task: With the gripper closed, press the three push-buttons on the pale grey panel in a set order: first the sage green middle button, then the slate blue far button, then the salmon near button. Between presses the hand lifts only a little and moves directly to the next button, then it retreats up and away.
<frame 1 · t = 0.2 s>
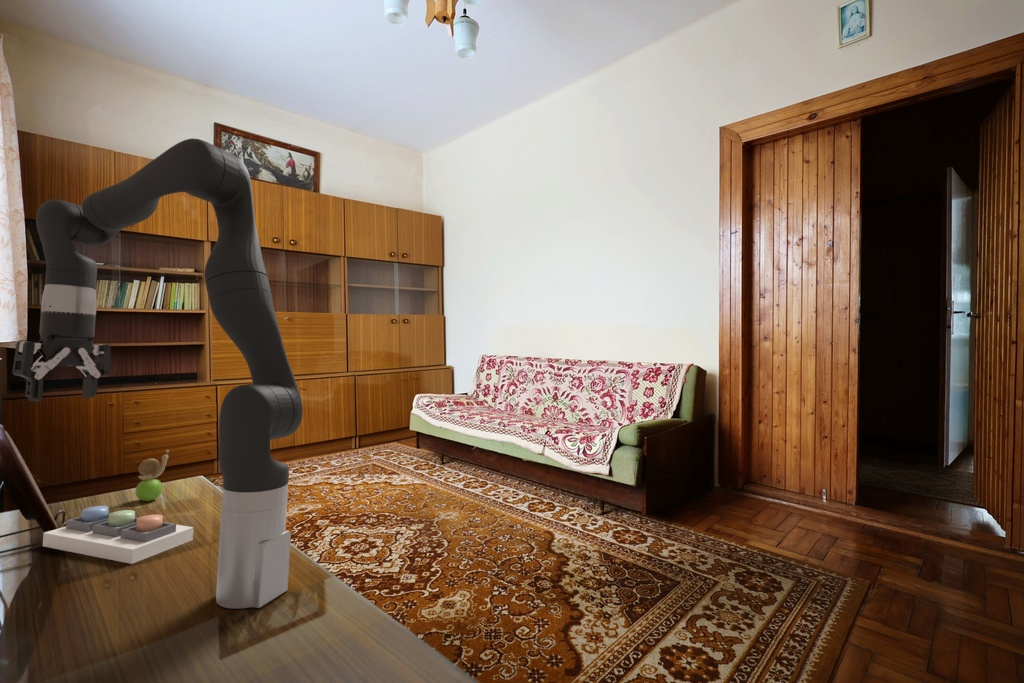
hand: (62, 399, 89), 28 cm above the table, fingers open, 8 cm apart
sage button: (121, 518, 94), point 5 cm above the table, slide at 0.0 cm
salmon button: (149, 523, 92), point 5 cm above the table, slide at 0.0 cm
slate button: (94, 514, 96), point 5 cm above the table, slide at 0.0 cm
button panel: (120, 543, 94), on the table
snail figurine: (150, 501, 120), on the table
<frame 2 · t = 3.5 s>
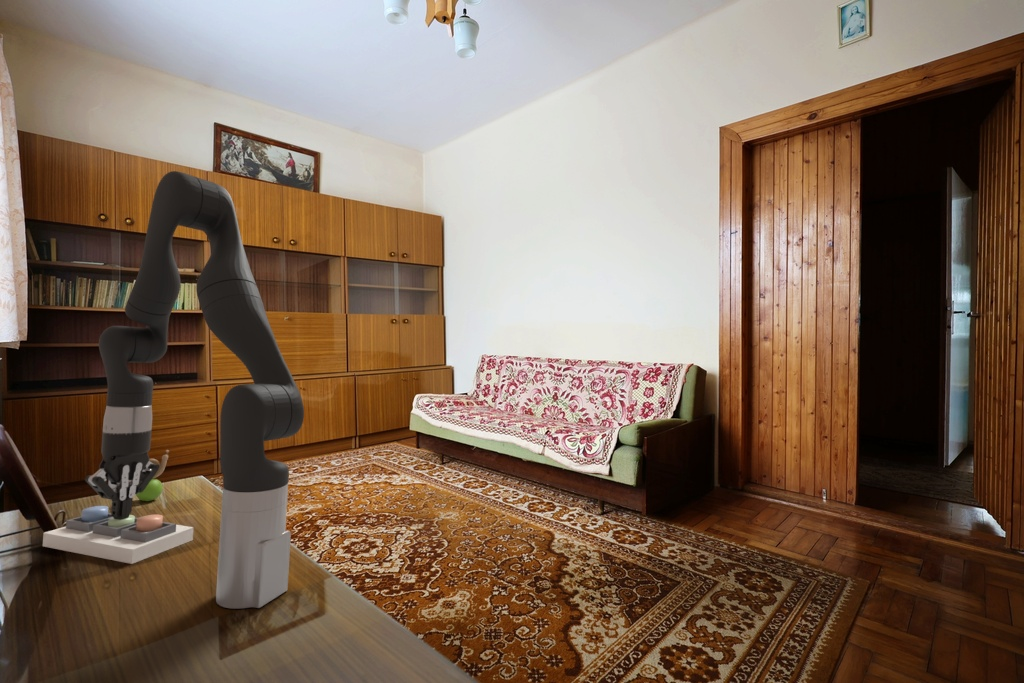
hand: (121, 518, 94), 5 cm above the table, fingers closed
sage button: (121, 523, 94), point 4 cm above the table, slide at 0.9 cm, touching gripper
everything else where it was.
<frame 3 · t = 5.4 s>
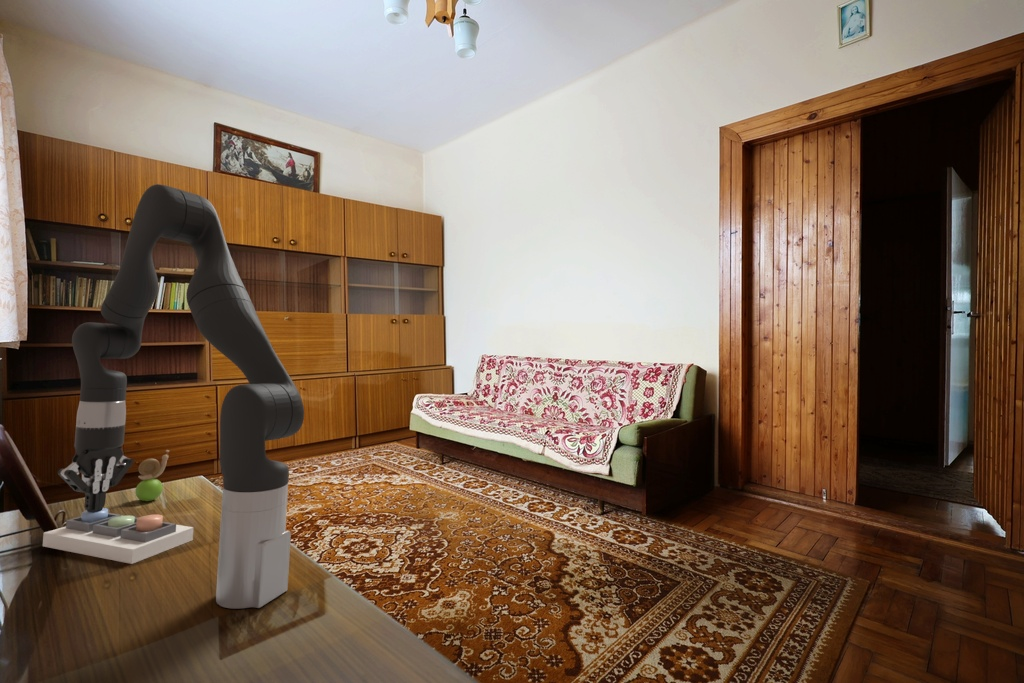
hand: (94, 511, 96), 5 cm above the table, fingers closed
sage button: (121, 524, 94), point 4 cm above the table, slide at 1.1 cm
slate button: (94, 516, 96), point 4 cm above the table, slide at 0.5 cm, touching gripper
everything else where it was.
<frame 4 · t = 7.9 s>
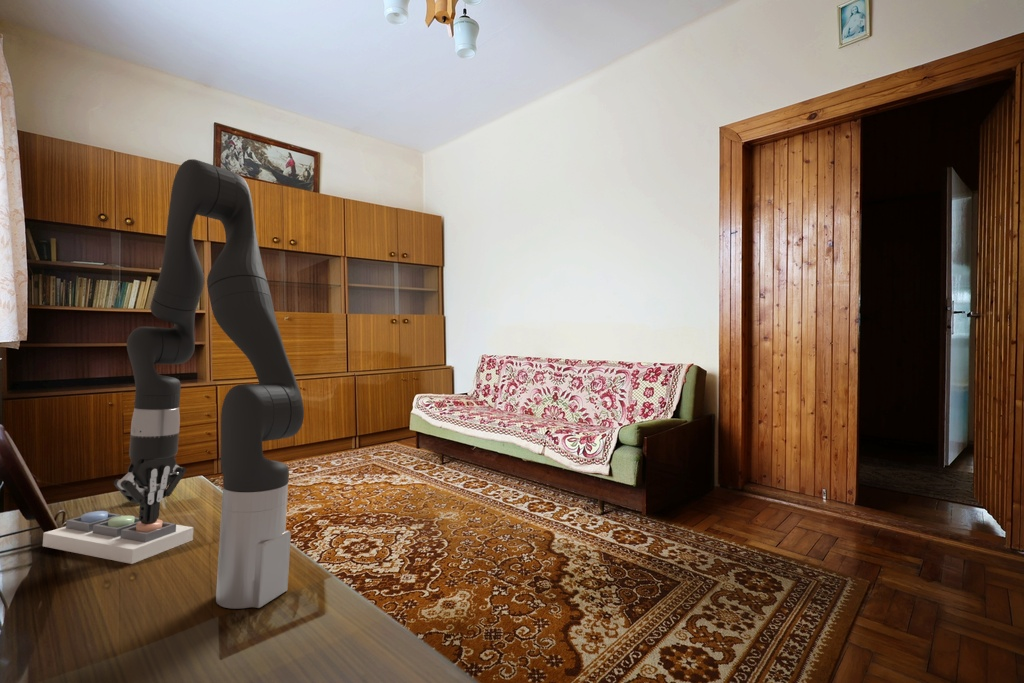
hand: (148, 522, 93), 5 cm above the table, fingers closed
salmon button: (149, 528, 92), point 4 cm above the table, slide at 0.9 cm, touching gripper
slate button: (94, 519, 96), point 4 cm above the table, slide at 1.0 cm
everything else where it was.
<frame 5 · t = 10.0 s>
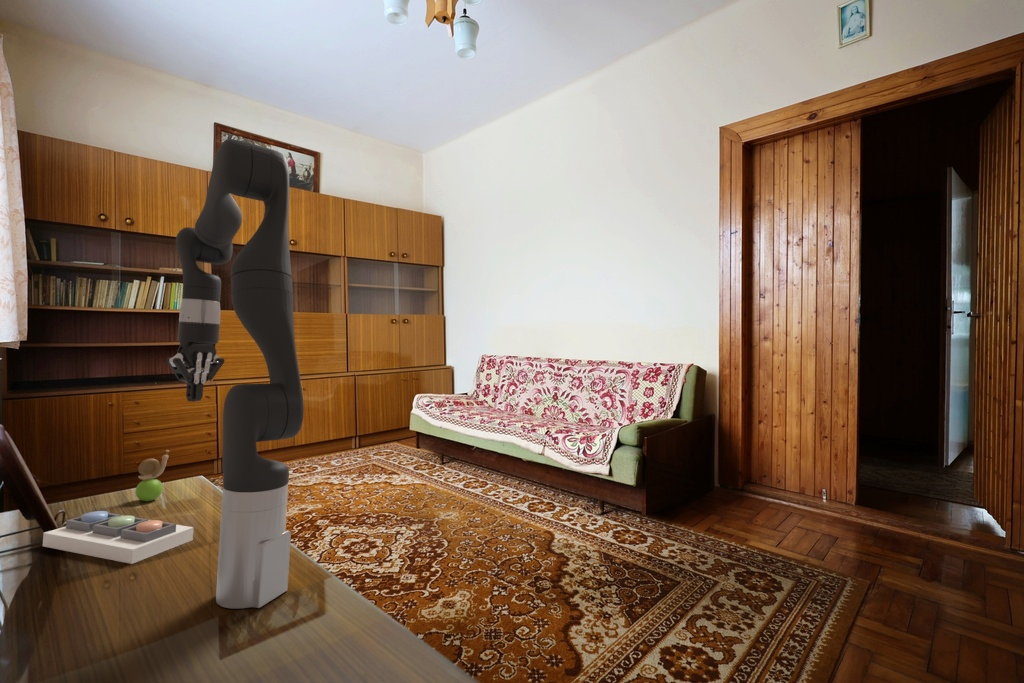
hand: (194, 400, 105), 27 cm above the table, fingers closed
salmon button: (149, 528, 92), point 4 cm above the table, slide at 1.1 cm
everything else where it was.
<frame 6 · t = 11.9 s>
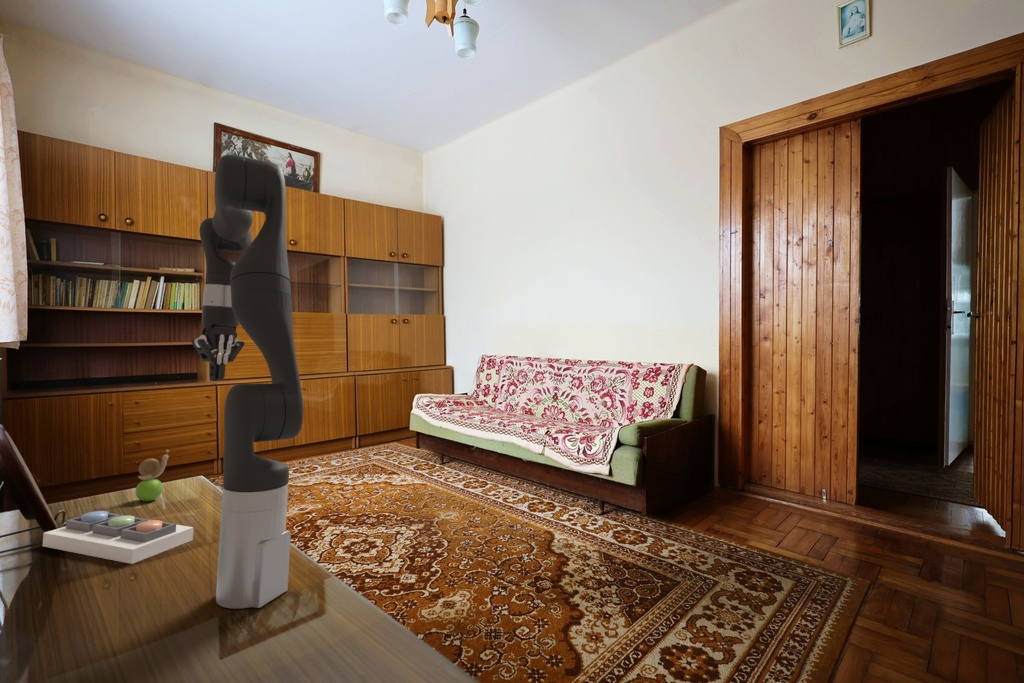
hand: (216, 380, 112), 31 cm above the table, fingers closed
nothing on the table moved.
at the end: sage button slide at 1.1 cm; slate button slide at 1.0 cm; salmon button slide at 1.1 cm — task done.
